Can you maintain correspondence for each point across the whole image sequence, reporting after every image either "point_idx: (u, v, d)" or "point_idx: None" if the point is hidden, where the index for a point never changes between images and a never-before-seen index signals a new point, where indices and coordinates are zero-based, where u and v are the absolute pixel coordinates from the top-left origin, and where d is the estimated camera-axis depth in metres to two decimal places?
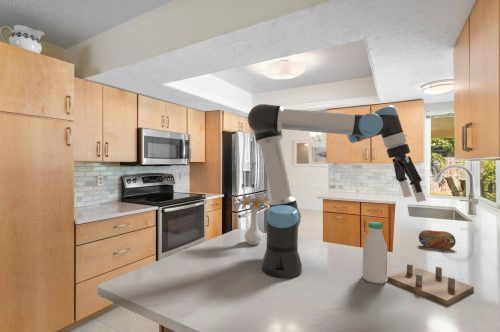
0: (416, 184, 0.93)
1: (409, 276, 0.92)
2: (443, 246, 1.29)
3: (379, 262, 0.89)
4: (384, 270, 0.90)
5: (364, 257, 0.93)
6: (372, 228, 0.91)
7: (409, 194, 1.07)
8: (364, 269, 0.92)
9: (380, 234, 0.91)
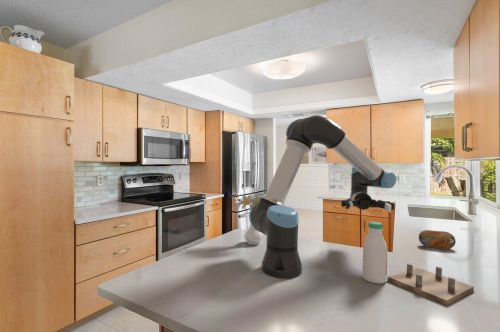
0: None
1: (409, 276, 0.92)
2: (443, 246, 1.29)
3: (379, 262, 0.89)
4: (384, 270, 0.90)
5: (364, 257, 0.93)
6: (372, 228, 0.91)
7: (352, 208, 1.05)
8: (364, 269, 0.92)
9: (380, 234, 0.91)
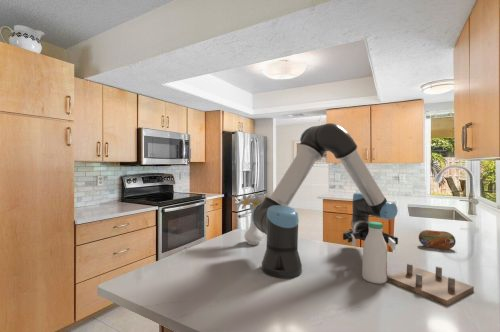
0: (394, 240, 1.02)
1: (409, 276, 0.92)
2: (443, 246, 1.29)
3: (379, 262, 0.89)
4: (384, 270, 0.90)
5: (364, 257, 0.93)
6: (372, 228, 0.91)
7: None
8: (364, 269, 0.92)
9: (380, 234, 0.91)
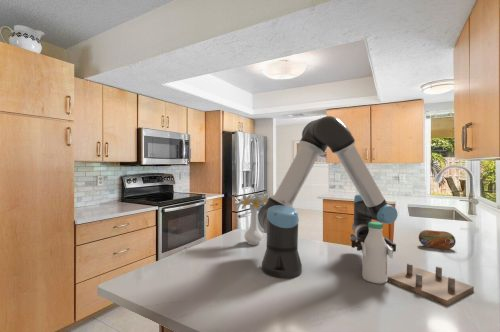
0: (391, 247, 0.93)
1: (409, 276, 0.92)
2: (443, 246, 1.29)
3: (379, 262, 0.89)
4: (384, 270, 0.90)
5: (364, 257, 0.93)
6: (372, 228, 0.91)
7: (365, 252, 0.90)
8: (364, 269, 0.92)
9: (380, 234, 0.91)
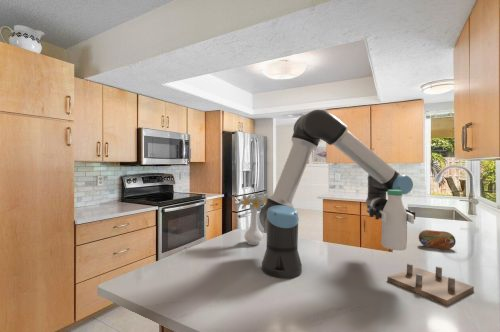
0: None
1: (409, 276, 0.92)
2: (443, 246, 1.29)
3: (399, 228, 0.88)
4: (404, 237, 0.89)
5: (383, 225, 0.92)
6: (392, 195, 0.90)
7: None
8: (384, 237, 0.91)
9: (400, 201, 0.90)
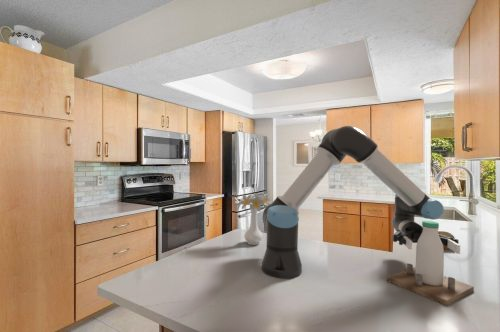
0: (454, 243, 0.90)
1: (409, 276, 0.92)
2: (443, 246, 1.29)
3: (436, 263, 0.85)
4: (441, 271, 0.85)
5: (419, 258, 0.88)
6: (428, 227, 0.87)
7: None
8: (419, 270, 0.88)
9: (436, 234, 0.87)
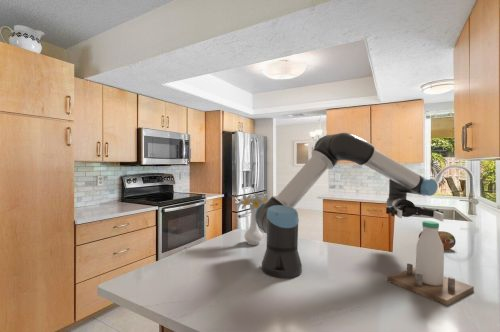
0: None
1: (409, 276, 0.92)
2: (443, 246, 1.29)
3: (436, 263, 0.85)
4: (441, 272, 0.85)
5: (419, 258, 0.88)
6: (428, 227, 0.87)
7: None
8: (419, 270, 0.88)
9: (437, 234, 0.87)
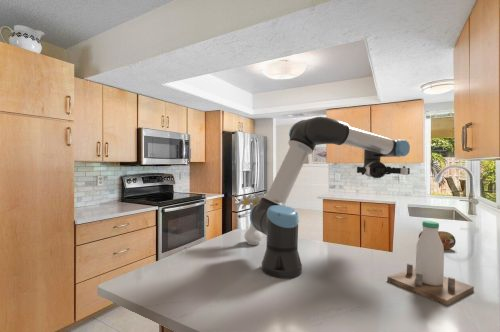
0: None
1: (409, 276, 0.92)
2: (443, 246, 1.29)
3: (436, 263, 0.85)
4: (441, 272, 0.85)
5: (419, 258, 0.88)
6: (428, 227, 0.87)
7: None
8: (419, 270, 0.88)
9: (437, 234, 0.87)
